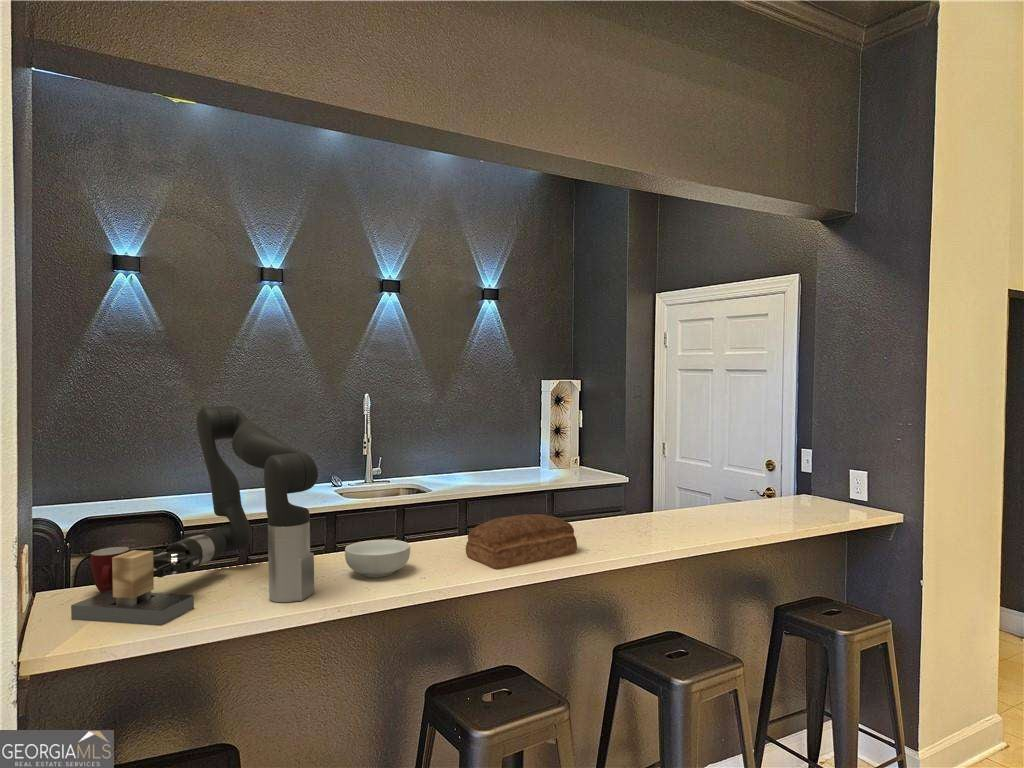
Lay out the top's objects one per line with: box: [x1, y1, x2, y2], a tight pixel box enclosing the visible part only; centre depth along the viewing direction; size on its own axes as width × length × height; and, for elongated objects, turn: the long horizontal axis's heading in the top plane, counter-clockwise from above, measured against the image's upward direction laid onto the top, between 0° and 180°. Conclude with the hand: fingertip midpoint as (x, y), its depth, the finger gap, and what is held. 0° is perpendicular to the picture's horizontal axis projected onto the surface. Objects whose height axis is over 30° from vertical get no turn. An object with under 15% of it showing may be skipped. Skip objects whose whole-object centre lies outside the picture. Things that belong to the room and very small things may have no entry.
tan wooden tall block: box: [112, 549, 155, 606], centre depth 143 cm, size 5×6×13 cm
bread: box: [465, 513, 578, 570], centre depth 187 cm, size 17×29×11 cm, turn 124°
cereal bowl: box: [344, 539, 411, 578], centre depth 172 cm, size 17×17×7 cm
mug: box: [90, 546, 131, 594], centre depth 157 cm, size 10×8×10 cm
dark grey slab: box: [70, 590, 195, 626], centre depth 143 cm, size 22×10×3 cm, turn 79°
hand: (141, 572), depth 145 cm, fingers open, 8 cm apart
